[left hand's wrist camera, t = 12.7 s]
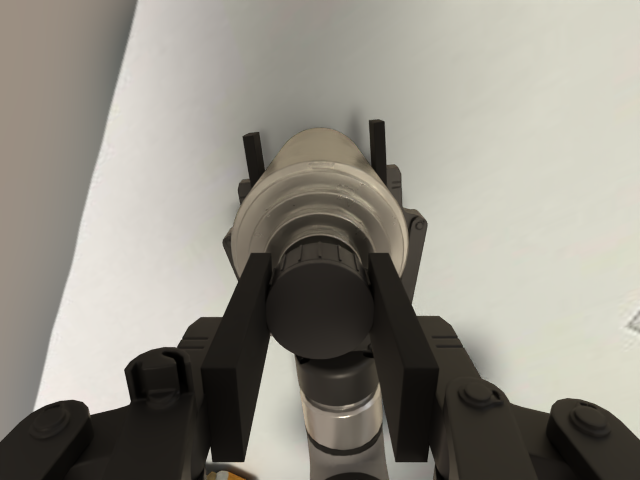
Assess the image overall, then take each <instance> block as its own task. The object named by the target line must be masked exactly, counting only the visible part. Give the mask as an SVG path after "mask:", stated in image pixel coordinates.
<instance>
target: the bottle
mask: <svg viewBox="0 0 640 480" xmlns="http://www.w3.org/2000/svg"><path fill="white" fill-rule="evenodd" d="M319 242H321V243H329V244H333V245H337V246H338V245H340V247H342V248H344V249H346V250H348V251H349V252H351V253H352V254H353V255H354V254H355V255H356V257H357V258H358V260H359V261H360V262H361V263H362V265H363V267H364V268H366V269H367V273H368V253H389V255H390V257H391V259H392V261H393V264H394V266H395V268H396V270H397V273H398V275H399V277H401V275H402V273H403V270H404V268H405V265H406V261H407V256H408V246H409V240H408V230H407V225H406V221H405V218H404V215H403V213H402V210H401V208H400V206H399V205H398V203H397V201H396V199H395V198H394V197H393V195H392V194H391V193H390V191H389V190H388V189H387V187H386V186H385V184H384V183H383V182H382V180H381V179H380V178H379V176H378V175H377V174H376V172H375V171H374V169H373V168H372V167H371V165H370V164H369V163H368V161H367V160H366V159H365V157H364V156H363V154H362V153H361V152H360V150H359V149H358V148H357V146H356V145H355V144H354V143H353V142H352V141H351V139H349V138H348V137H347V136H345V135H344V134H342V133H340V132H338V131H336V130H332V129H328V128H312V129H308V130H304V131H302V132H300V133H298V134H296V135H295V136H293V137H292V138H291V139H289V140H288V141H287V143H286V144H285V145H284V146H283V147H282V149H281V150H280V151H279V153H278V154H277V156H276V157H275V158H274V160H273V161H272V162H271V164H270V165H269V166H268V168H267V169H266V170H265V172H264V173H263V175H262V176H261V177H260V179H259V180H258V181H257V183H256V184H255V185H254V187H253V188H252V190H251V191H250V192H249V194H248V195H247V196H246V198H245V199H244V201H243V202H242V204H241V206H240V208H239V210H238V212H237V215H236V218H235V220H234V224H233V229H232V236H231V249H232V257H233V261H234V265H235V268H236V271H237V273H238V276H239V278H240V277H241V274H242V272H243V270H244V268H245V265H246V263H247V261H248V258H249V256H250V254H251V253H271V257H272V272H273V268H276V266H277V265H278V263H279V262H280V261H281V259H282V258H283V257H284V254H288V253H289V252H291V251H292V250H294V249H296V248H298V247H300V245H302V246H303V245H306V244H311V243H319Z"/></svg>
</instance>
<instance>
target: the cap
mask: <svg viewBox="0 0 640 480" xmlns="http://www.w3.org/2000/svg"><path fill="white" fill-rule="evenodd" d="M269 286H270V287H269V290H268V294H267V298H266V303H265V304H266V322H267V326H268V329H269V330H270V332H271V334H272V336H273V337H274V338H275V340H276V341H277V342H278V343H279V344H280V345H282V346H283V347H284V348H285V349H287V350H288V351H290V352H292V353H294V354H296V355H299V356H302V357H306V358H311V359H329V358H334V357H338V356H341V355H344V354H346V353H348V352H350V351H351V350H353V349H354V348H356V347H357V346H358V345H359V344H361V342H362V341H363V340H364V339H365V338H366V336H367V335H368V334H369V332H370V330H371V328H372V325H373V319H374V299H373V296H372V292H371V288H370V286H371V284H370V280H369V276H368V273H367V269H366V268H364V267H363V265H362V263H361V262H360V261H359V260H358V258H357V257H356V255H355V254H354V255H353V254H352V253H351V252H349V251H348V250H346V249H344V248H342V247H340V245H338V246H337V245H333V244H329V243H321V242H319V243H311V244H306V245H303V246H302V245H300V247H298V248H296V249H294V250H292V251H291V252H289V253H288V254H284V257H283V258H282V259H281V261H280V262H279V263H278V265H277V266H276V268H273V272H272V275H271V279H270V283H269Z"/></svg>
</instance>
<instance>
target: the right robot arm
mask: <svg viewBox="0 0 640 480" xmlns="http://www.w3.org/2000/svg"><path fill="white" fill-rule="evenodd" d="M369 131H370V149H371V167H372V168H373V169H374V171H375V172H376V174H377V175H378V176H379V178H380V179H381V180H382V182H383V183H384V184H385V186H386V187H387V189H388V190H389V191H390V193H391V194H392V195H393V197H394V198H395V199H396V201H397V203H398V205H399V206H400V208H401V210H402V213H403V215H404V218H405V221H406V225H407V230H408V240H409V246H408V256H407V261H406V265H405V268H404V270H403V273H402V275H401V277H400V280H401V282H402V284H403V286H404V289H405V291H406V293H407V296H408V298H409V300H410V302H411V305H412V300H413V295H414V290H415V285H416V280H417V275H418V270H419V266H420V261H421V256H422V251H423V246H424V241H425V236H426V231H427V221H426V220H425V219H424V217H423V216H422V215H421V214H420V213H419V212H418V211H417V210H415V209H411V210H410V209H406V208H403V207H402V188H401V173H400V170H399V168H398V167H397V166H396V165H395V164H393V165H386V146H385V122H384V121H382V120H379V119H377V120H369ZM243 142H244V148H245V154H246V160H247V166H248V172H249V178H250V179H244V180H242V181H241V182H240V183H239V187H238V194H239V200H240V205H241V204H242V202H243V201H244V199H245V198H246V196H247V195H248V194H249V192H250V191H251V190H252V188H253V187H254V185H255V184H256V183H257V181H258V180H259V179H260V177H261V176H262V175H263V173H264V172H265V168H264V162H263V155H262V149H261V142H260V135H259V132H254V133H248V134H246V135H244V136H243ZM232 229H233V227H232V228H231V229H230V230H229V232H228V233H227V235H226V236H225V238H224V239H223V242H222V243H223V247H224V249H225V251H226V254H227V256H228V258H229V261H230V263H231V266H232V268H233V270H234V273H235V275H236V277H237V280H238V281H239V279H240V278H239V276H238V273H237V271H236V268H235V265H234V261H233V257H232V249H231V236H232ZM270 336H272V334H271V335H270ZM295 361H296V368H297V374H298V381H299V386H300V395H301V401H302V407H303V413H304V419H305V427H306V432H307V438H308V447H309V456H310V480H389V476H388V471H387V465H386V459H385V450H384V439H383V428H382V417H383V413H382V398H381V389H380V384H379V379H378V374H377V370H376V365H375V360H374V355H373V350H372V345H371V341H370V336H369V334H368V335H367V336H366V338H365V339H364V340H363V341H362V342H361V344H359V345H358V346H357V347H356V348H354V349H353V350H351V351H350V352H348V353H346V354H344V355H341V356H338V357H334V358H329V359H311V358H306V357H302V356H299V355H296V354H295Z"/></svg>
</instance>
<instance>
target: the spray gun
mask: <svg viewBox="0 0 640 480" xmlns="http://www.w3.org/2000/svg"><path fill="white" fill-rule="evenodd" d="M207 480H246V479H243V478H241V477H239V476H237V475H235V474H232V473H230V472H228V471H219V472H218V473H215V472H213V471H212V472H210V473H209V474H208V475H207Z"/></svg>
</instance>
